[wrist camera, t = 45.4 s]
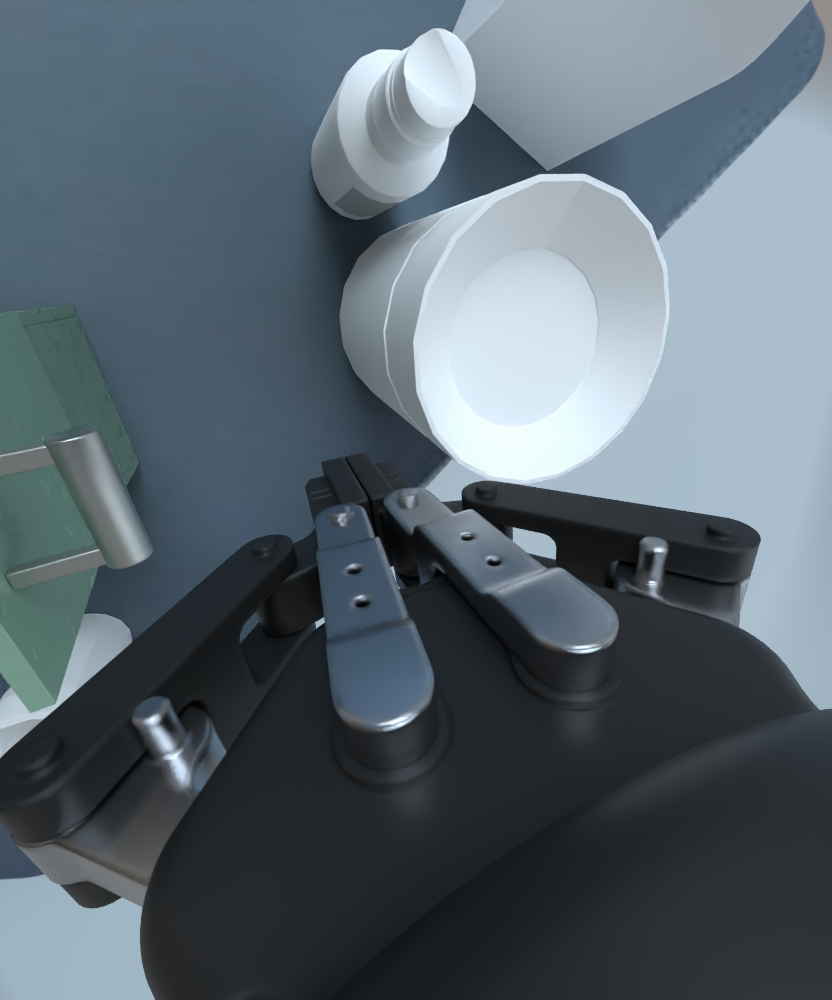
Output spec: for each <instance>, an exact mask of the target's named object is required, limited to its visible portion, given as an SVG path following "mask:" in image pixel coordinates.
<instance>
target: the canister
mask: <svg viewBox="0 0 832 1000" xmlns="http://www.w3.org/2000/svg"><path fill="white" fill-rule="evenodd" d="M668 291H669V290H668V275H667V265H666V263H665V260H664V257H663V255H662V252H661V249H660V246H659V244H658V241H657V238H656V235H655V233H654V230H653V227H652V225H651V224H650V222H649V221H648V220H647V219H646V218H645V217H644V215H643V214H642V213H641V212H640V211H639V209H638V208H637V207H636V206H635V205H634V204H633V202H632V201H631V200H630V199H629V198H628V196H627V195H626V194H625V193H624V192H622V191H620V190H618V189H616V188H614V187H612V186H610V185H608V184H605V183H603V182H601V181H599V180H597V179H595V178H593V177H591V176H589V175H586V174H539V175H537V176H534V177H531V178H529V179H526V180H523V181H521V182H518V183H515V184H513V185H510V186H507V187H505V188H502V189H499V190H497V191H494V192H492V193H490V194H488V195H483V196H480V197H478V198H475V199H472V200H470V201H467V202H464V203H462V204H459V205H456V206H454V207H451V208H448V209H446V210H443V211H440V212H438V213H435V214H432V215H430V216H427V217H424V218H422V219H419V220H416V221H414V222H411V223H408V224H406V225H404V226H401V227H399V228H397V229H395V230H393V231H390V232H388V233H386V234H384V235H381V236H380V237H379V238H378V239H377V240H376V241H375V242H374V243H373V244H372V245H371V246H370V247H369V248H368V249H367V250H365V251H364V252H363V253H362V254H361V255H360V256H359V257H358V259H357V261H356V263H355V265H354V267H353V269H352V271H351V273H350V275H349V277H348V279H347V281H346V283H345V285H344V290H343V296H342V302H341V309H340V315H339V319H340V327H341V335H342V342H343V348H344V350H345V352H346V354H347V357H348V359H349V361H350V363H351V365H352V368H353V370H354V372H355V374H356V375H357V376H358V377H359V378H360V379H361V380H362V381H363V382H364V384H365V385H366V386H367V387H368V388H369V389H370V390H371V391H372V392H373V393H374V394H375V395H376V396H377V397H379V398H380V399H381V400H382V401H383V402H385V403H386V404H387V405H388V406H389V407H391V408H392V409H393V410H394V411H395V412H397V413H398V414H399V415H400V416H402V417H403V418H404V419H405V420H406V421H408V422H409V423H410V424H411V425H412V426H414V427H415V428H416V429H417V430H418V431H420V432H421V433H422V434H423V435H424V436H426V437H428V438H429V439H430V440H431V441H432V442H433V443H434V444H435V445H437V446H438V447H439V448H440V449H441V450H443V451H444V452H445V453H446V454H447V455H449V456H450V457H451V458H452V459H453V460H455V461H456V462H457V463H458V464H460V465H462V466H464V467H466V468H468V469H469V470H471V471H473V472H475V473H477V474H479V475H481V476H483V477H485V478H486V479H488V480H490V481H499V482H507V483H516V484H524V485H525V484H529V483H534V482H539V481H544V480H548V479H553V478H557V477H560V476H562V475H564V474H566V473H568V472H570V471H571V470H573V469H575V468H577V467H579V466H581V465H582V464H584V463H586V462H588V461H590V460H592V459H593V458H594V457H595V456H596V455H597V454H598V453H599V452H601V451H602V450H603V449H604V448H605V447H606V446H607V445H608V444H609V443H610V442H611V441H612V440H613V439H615V438H616V437H617V436H618V435H619V434H620V433H621V432H622V431H623V429H624V428H625V426H626V425H627V423H628V422H629V420H630V419H631V418H632V416H633V415H634V413H635V411H636V410H637V409H638V407H639V406H640V404H641V403H642V401H643V400H644V399H645V397H646V394H647V392H648V390H649V387H650V385H651V383H652V380H653V378H654V375H655V373H656V370H657V368H658V365H659V363H660V360H661V358H662V355H663V349H664V344H665V338H666V332H667V326H668V320H669V314H670V304H669V292H668Z"/></svg>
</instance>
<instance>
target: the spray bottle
mask: <svg viewBox="0 0 832 1000" xmlns="http://www.w3.org/2000/svg"><path fill="white" fill-rule="evenodd" d="M475 89H476V81H475V70H474V66H473V62H472V58H471V56H470V54H469V52H468V50H467V48H466V46H465V45H464V43H463V42H462V41H461V40H460V39H459V38H458V37H457V36H456V35H455V34H453V33H451V32H449V31H447V30H445V29H436V28H435V29H431V30H430V31H428V32H426V33H425V34H423V35H421V36H419V37H418V38H417V39H416V41H415V42H414V43H413V44H412V45H411V46H410V47H408V48H405V49H403V50H402V51H399V50H377V51H375V52H372V53H370V54H368V55H366V56H363V57H361V58H360V59H359V60H358V61H357V62H356V63H355V64H354V65H353V66H352V68H351V69H350V70H349V71H348V72H347V73H346V75H345V77H344V79H343V81H342V83H341V85H340V87H339V89H338V91H337V93H336V95H335V97H334V99H333V101H332V103H331V105H330V107H329V109H328V111H327V114H326V116H325V118H324V120H323V122H322V124H321V126H320V128H319V130H318V132H317V135H316V137H315V139H314V142H313V144H312V152H311V167H312V174H313V179H314V181H315V184H316V186H317V188H318V191H319V193H320V195H321V196H322V197H323V199H324V200H325V201H326V203H327V204H328V205H329V206H330V207H331V208H332V209H333V210H335V211H336V212H338V213H339V214H340V215H342V216H344V217H348V218H351V219H354V220H361V219H369V218H371V217H373V216H375V215H378V214H380V213H382V212H383V211H385V210H387V209H389V208H391V207H393V206H395V205H397V204H399V203H401V202H403V201H405V200H406V199H408V198H410V197H412V196H414V195H416V194H418V193H420V192H422V191H424V190H425V189H426V188H427V187H428V185H429V184H430V183H431V182H432V181H433V180H434V179H435V178H436V177H437V175H438V173H439V171H440V168H441V166H442V164H443V162H444V160H445V158H446V153H447V148H448V142H449V136H450V134H451V133H452V132H453V130H454V128H455V126H457V125H458V124H459V123H460V122H461V121H462V120H463V119H464V118H465V117H466V116H467V114H468V112H469V110H470V108H471V106H472V104H473V99H474V94H475Z"/></svg>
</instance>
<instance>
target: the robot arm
mask: <svg viewBox="0 0 832 1000" xmlns="http://www.w3.org/2000/svg"><path fill="white" fill-rule="evenodd" d="M322 468H323V472H324V476H322V477H318V478H314V479H310V480H309V481H308V483H307V485H306V487H305V488H306V493H307V497H308V501H309V505H310V509H311V513H312V517H313V521H314V525H315V529H314V531H313V532H312V533H311V534H310V535H309V536H307V537H306V538H304V539H302V540H300V541H298V542H296V543H294V544H293V542H292V540H291V539H290V538H289V537H287V536H284V535H268V536H263V537H260V538H257V539H254V540H252V541H250V542H248V543H247V544H245V545H244V546H242V547H241V548H240V549H239V550H238V551H236V552H235V553H234V554H233V555H232V556H231V557H230V558H228V559H227V560H226V561H225V562H224V563H223V564H222V565H220V566H219V567H218V568H217V569H216V570H215V571H213V572H212V573H211V574H210V575H209V576H208V577H207V578H205V579H204V580H203V581H202V582H201V583H200V584H199V585H197V586H196V587H195V588H194V589H193V590H192V591H190V592H189V593H188V594H187V595H186V596H185V597H184V598H182V599H181V600H180V601H179V602H178V603H177V604H176V605H174V606H173V607H172V608H171V609H170V610H169V611H167V612H166V613H165V614H164V615H163V616H162V617H161V618H159V619H158V620H157V621H156V622H155V623H154V624H153V625H151V626H150V627H149V628H148V629H147V630H146V631H145V632H143V633H142V634H141V635H140V636H139V637H138V638H136V639H135V640H134V641H133V642H132V643H131V644H130V645H128V646H127V647H126V648H125V649H124V650H123V651H122V652H120V653H119V654H118V655H117V656H116V657H115V658H113V659H112V660H111V661H110V662H109V663H108V664H107V665H105V666H104V667H103V668H102V669H101V670H100V671H99V672H97V673H96V674H95V675H94V676H93V677H92V678H90V679H89V680H88V681H87V682H86V683H85V684H84V685H82V686H81V687H80V688H79V689H78V690H77V691H76V692H74V693H73V694H72V695H71V696H70V697H69V698H68V699H66V700H65V701H64V702H63V703H62V704H61V705H59V706H58V707H57V708H56V709H55V710H54V711H53V712H51V713H50V714H49V715H48V716H47V717H46V718H45V719H43V720H42V721H41V722H40V723H39V724H38V725H36V726H35V727H34V728H33V729H32V730H31V731H30V732H28V733H27V734H26V735H25V736H24V737H23V738H22V739H20V740H19V741H18V742H17V743H16V744H15V745H13V746H12V747H11V748H10V749H9V750H8V751H7V752H6V753H5V754H4V755H3V756H2V757H1V758H0V822H1V823H2V824H3V826H4V827H5V828H6V829H7V830H8V831H9V832H10V836H11V838H12V841H13V842H14V843H15V844H16V845H17V846H18V847H19V848H20V849H21V850H22V851H23V852H24V853H25V854H26V855H27V856H28V857H29V858H30V859H31V861H32V862H33V863H34V864H35V865H36V866H37V867H38V868H39V869H40V870H41V871H42V872H43V873H44V874H45V875H46V876H47V877H48V878H49V879H50V880H51V881H52V882H54V883H57V884H60V885H61V886H62V887H63V888H64V889H65V890H66V891H67V892H68V894H69V895H71V897H72V898H73V899H74V900H75V901H76V902H77V903H78V904H79V905H81V906H83V907H86V908H99V907H103V906H106V905H108V904H111V903H113V902H115V901H116V900H118V899H120V898H121V897H123V898H125V899H127V900H129V901H131V902H133V903H135V904H137V905H139V906H142V907H143V909H142V915H141V926H140V947H141V957H142V964H143V968H144V972H145V976H146V979H147V982H148V985H149V987H150V989H151V991H152V994H153V996H154V998H155V1000H832V709H825V710H819V709H818V708H817V707H816V706H815V705H814V704H813V702H812V701H811V700H810V699H809V697H808V696H807V695H806V694H805V692H804V691H803V690H802V688H801V687H800V685H799V684H798V682H797V681H796V679H795V678H794V676H793V675H792V673H791V672H790V670H789V669H788V667H787V666H786V665H785V663H784V662H783V661H782V660H781V659H780V658H779V657H778V656H777V655H776V653H774V652H773V651H772V650H771V649H770V648H769V647H768V646H767V645H765V644H764V643H763V642H761V641H760V640H759V639H757V638H756V637H754V636H753V635H751V634H749V633H748V632H746V631H744V630H743V629H741V628H739V619H740V618H739V617H740V610H741V607H742V603H743V600H744V597H745V593H746V589H747V586H748V582H749V579H750V575H751V572H752V569H753V565H754V561H755V558H756V555H757V551H758V547H759V544H760V541H761V539H760V535H759V534H758V532H757V531H755V530H754V529H753V528H751V527H750V526H748V525H747V524H744V523H742V522H740V521H737V520H733V519H730V518H724V517H718V516H712V515H706V514H700V513H693V512H686V511H681V510H675V509H668V508H661V507H656V506H649V505H643V504H637V503H630V502H624V501H618V500H611V499H605V498H599V497H592V496H586V495H580V494H574V493H567V492H561V491H555V490H549V489H542V488H536V487H530V486H523V485H517V484H511V483H504V482H498V481H480V482H475V483H472V484H469V485H468V486H466V487H465V488H464V489H463V490H462V500H461V501H451V502H441V501H440V500H439V499H438V498H436V497H435V496H434V495H433V494H432V493H431V492H429V491H428V490H426V489H422V488H413V486H412V485H411V484H410V483H409V482H408V481H407V479H406V478H404V476H403V475H402V473H400V471H399V470H398V469H397V468H396V466H394V465H392V464H389V463H386V462H382V463H378V464H375V463H374V462H373V460H372V459H371V458H370V456H369V455H368V454H367V452H363V453H359V454H355V455H350V456H346V457H345V459H344V457H341V458H337V459H333V460H328V461H324V462H322ZM513 527H516V528H520V529H524V530H529V531H534V532H539V533H543V534H546V535H548V536H550V537H551V538H552V539H553V540H554V542H555V544H556V549H557V550H556V560H554V559H549V558H545V557H541V556H537V555H533V554H529V553H526V552H525V551H524V550H523V549H521V548H520V547H519V546H518V545H516V544H515V543H514V542H513V530H512V528H513ZM392 566H393V567H394V570H395V576H396V581H397V583H396V581H395V578H394V575H393V573H392V570H391V568H390V567H392ZM397 585H398V586H399V588H400V589H398V586H397ZM255 612H256V614H257V617H258V620H259V623H258V624H257V625H256V626H255V628H254V629H253V630H252V631H251V632H250V633H249V634H248V636H247V637H246V638H245V639H244V640H243V641H242V642H241V644H240V642H239V638H240V633H241V630H242V627H243V626H244V624H245V623H246V621H247V620H248V619H249V618H250V617H251V616H252V615H253V614H254V613H255ZM323 617H324V618H325V623H324V624H322V625H321V626H319V627H318V628H317V629H316V624H315V622H316V621H318V620H320V619H321V618H323Z"/></svg>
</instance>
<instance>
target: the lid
mask: <svg viewBox="0 0 832 1000" xmlns="http://www.w3.org/2000/svg"><path fill="white" fill-rule="evenodd" d="M152 552H153V546H152V544H151V542H150V540H149V537H148V535H147V533H146V531H145V528H144V526H143V524H142V522H141V520H140V517H139V515H138V513H137V511H136V508H135V506H134V504H133V502H132V500H131V497H130V495H129V493H128V491H127V488H126V486H125V484H124V482H123V480H122V477H121V475H120V473H119V471H118V468H117V466H116V464H115V462H114V459H113V457H112V455H111V453H110V451H109V448H108V446H107V444H106V442H105V439H104V437H103V435H102V433H101V431H100V428H98V427H97V426H84V427H78V428H73V429H72V427H71V425H70V423H69V421H68V419H67V417H66V415H65V413H64V411H63V408H62V406H61V404H60V402H59V400H58V398H57V396H56V394H55V392H54V390H53V388H52V386H51V383H50V381H49V379H48V377H47V375H46V373H45V371H44V369H43V367H42V365H41V363H40V360H39V358H38V356H37V354H36V352H35V350H34V348H33V346H32V344H31V342H30V340H29V337H28V335H27V333H26V331H25V329H24V327H23V325H22V323H21V321H20V319H19V317H18V315H17V312H16V311H12V312H3V313H0V673H1V675H2V676H3V677H4V679H5V680H6V681H7V683H8V684H9V685H10V687H11V688H12V689H13V691H14V692H15V693H16V695H17V696H18V697H19V699H20V700H21V701H22V703H23V704H24V705H25V707H26V708H27V709H28V711H29V712H30V713H33V712H35V711H38V710H41V709H43V708H46V707H49V706H51V705H54V704H56V702H57V699H58V695H59V692H60V689H61V686H62V683H63V679H64V676H65V673H66V670H67V667H68V663H69V660H70V657H71V654H72V651H73V647H74V644H75V641H76V638H77V635H78V631H79V628H80V625H81V622H82V619H83V615H84V612H85V609H86V606H87V603H88V599H89V596H90V593H91V590H92V587H93V584H94V580H95V577H96V574H97V571H98V568H99V566H102V565H105V564H106V565H107V566H108V567H109V568H111V569H123V568H127V567H131V566H134V565H136V564H138V563H140V562H142V561H144V560H145V559H147V558H148V557H149V556H150V555H151V554H152Z"/></svg>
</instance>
